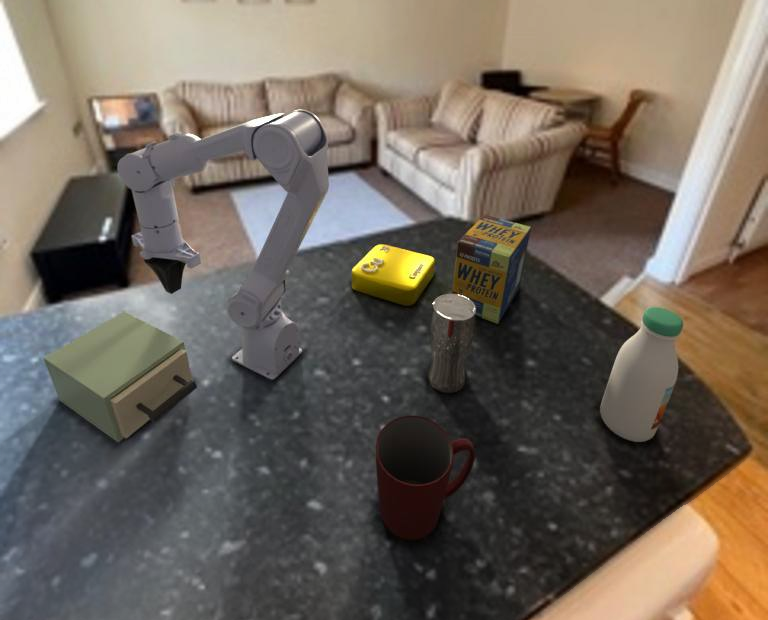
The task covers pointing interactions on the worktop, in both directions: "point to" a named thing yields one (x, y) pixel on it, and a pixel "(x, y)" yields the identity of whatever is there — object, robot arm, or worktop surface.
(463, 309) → the beer glass
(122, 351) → the cabinet
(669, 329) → the milk bottle
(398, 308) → the worktop surface
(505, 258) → the protein box
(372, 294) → the element tile
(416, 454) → the mug
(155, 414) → the drawer
